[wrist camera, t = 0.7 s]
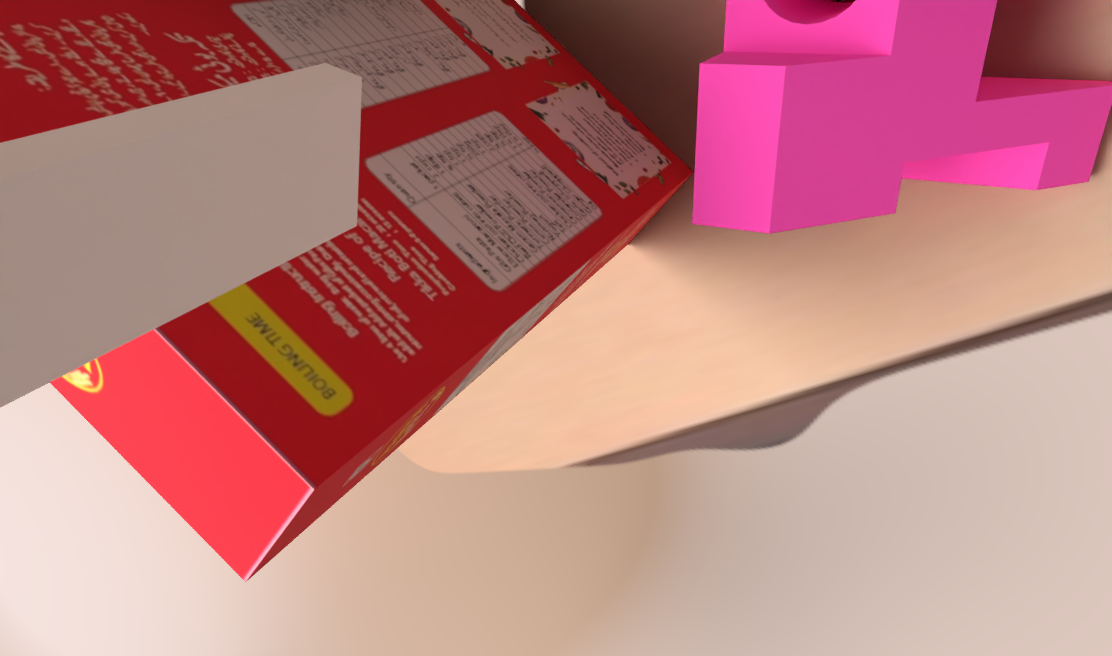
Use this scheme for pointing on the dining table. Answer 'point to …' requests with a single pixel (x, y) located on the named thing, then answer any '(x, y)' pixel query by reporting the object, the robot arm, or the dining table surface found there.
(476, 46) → the food packaging
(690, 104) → the dining table surface
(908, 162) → the bracket
